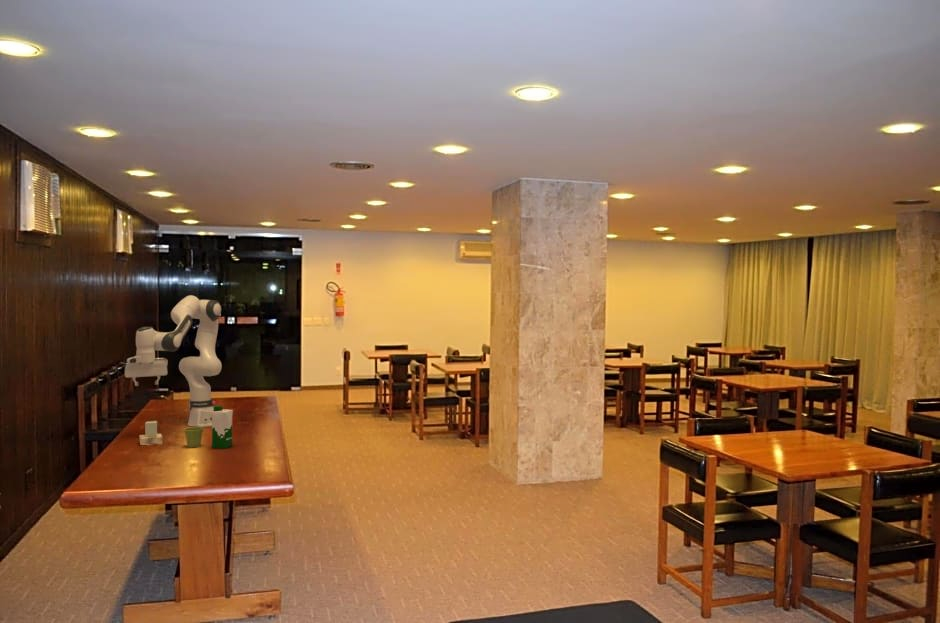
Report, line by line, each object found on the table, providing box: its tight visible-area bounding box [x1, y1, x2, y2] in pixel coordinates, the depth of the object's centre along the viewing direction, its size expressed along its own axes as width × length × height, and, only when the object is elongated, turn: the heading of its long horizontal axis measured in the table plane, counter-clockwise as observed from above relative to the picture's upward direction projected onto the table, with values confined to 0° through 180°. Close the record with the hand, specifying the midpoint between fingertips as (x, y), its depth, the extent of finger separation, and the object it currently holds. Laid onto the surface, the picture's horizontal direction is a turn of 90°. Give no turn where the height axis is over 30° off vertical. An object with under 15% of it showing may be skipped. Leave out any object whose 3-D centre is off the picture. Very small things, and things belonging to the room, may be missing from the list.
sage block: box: [144, 420, 158, 437], centre depth 358 cm, size 5×5×7 cm
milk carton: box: [211, 405, 234, 450], centre depth 348 cm, size 9×9×20 cm
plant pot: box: [183, 426, 205, 448], centre depth 350 cm, size 9×9×9 cm
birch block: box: [138, 433, 164, 446], centre depth 357 cm, size 10×10×4 cm
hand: (146, 385), depth 367 cm, fingers open, 8 cm apart
